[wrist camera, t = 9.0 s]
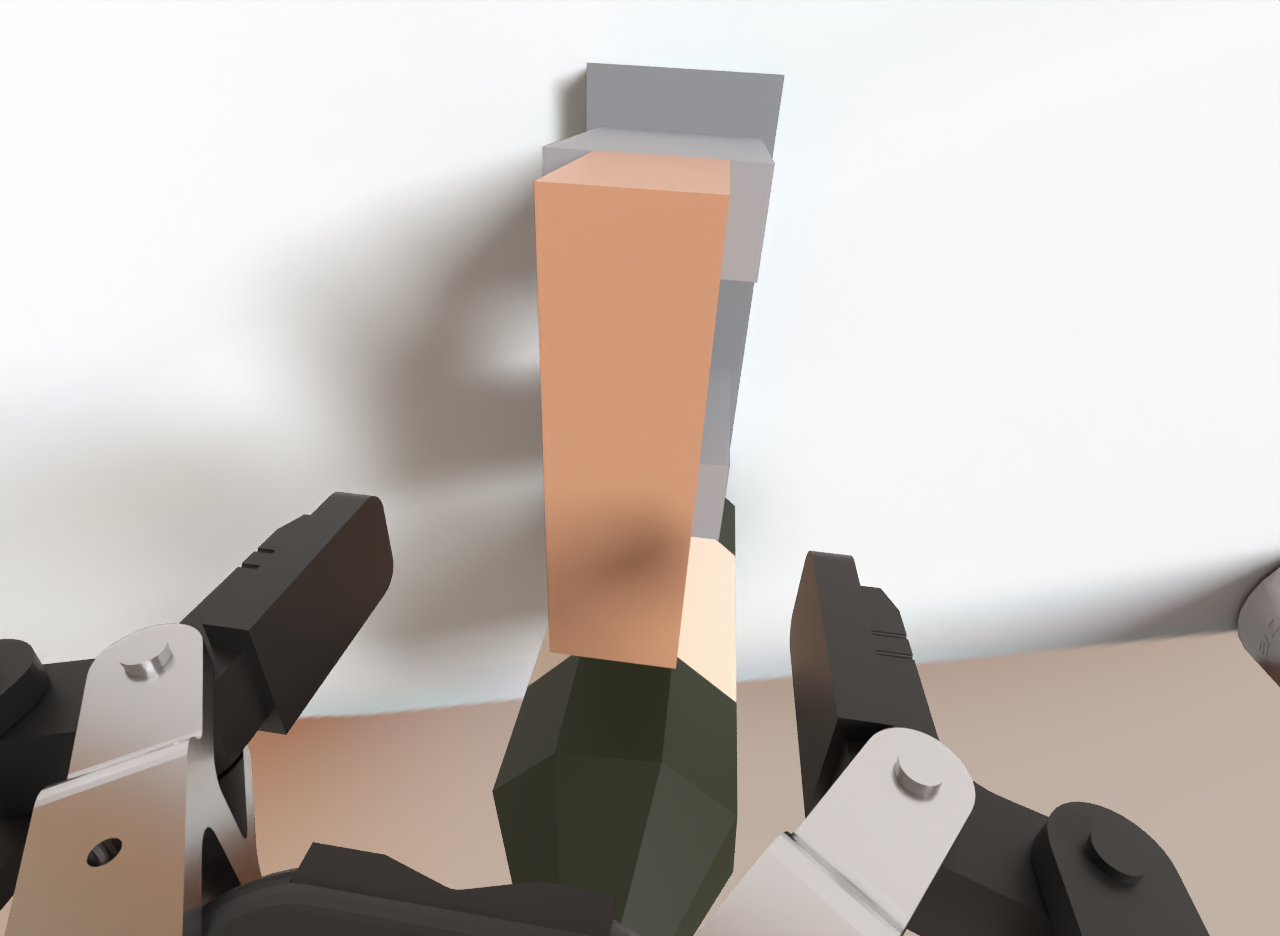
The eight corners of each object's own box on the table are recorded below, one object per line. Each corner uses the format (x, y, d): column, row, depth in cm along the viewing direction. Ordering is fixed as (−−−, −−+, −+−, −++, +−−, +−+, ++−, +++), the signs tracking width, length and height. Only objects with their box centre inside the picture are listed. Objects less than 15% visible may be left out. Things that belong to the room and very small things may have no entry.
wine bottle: (625, 600, 38) (409, 1661, 12) (560, 489, 34) (71, 1653, 9) (761, 565, 35) (837, 1807, 10) (705, 440, 32) (602, 1880, 6)
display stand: (781, 75, 24) (810, 72, 15) (727, 451, 32) (725, 584, 24) (594, 63, 24) (520, 54, 16) (589, 436, 33) (538, 562, 24)
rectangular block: (730, 159, 16) (729, 195, 11) (688, 535, 23) (676, 668, 17) (594, 150, 17) (533, 181, 12) (590, 524, 23) (549, 652, 18)
